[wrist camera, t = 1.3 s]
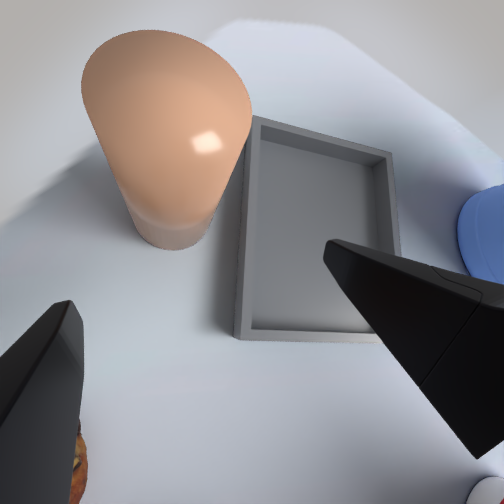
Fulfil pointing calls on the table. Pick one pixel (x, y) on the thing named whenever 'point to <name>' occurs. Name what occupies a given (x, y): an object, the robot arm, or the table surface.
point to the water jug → (483, 234)
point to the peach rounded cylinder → (167, 129)
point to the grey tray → (307, 232)
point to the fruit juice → (488, 492)
